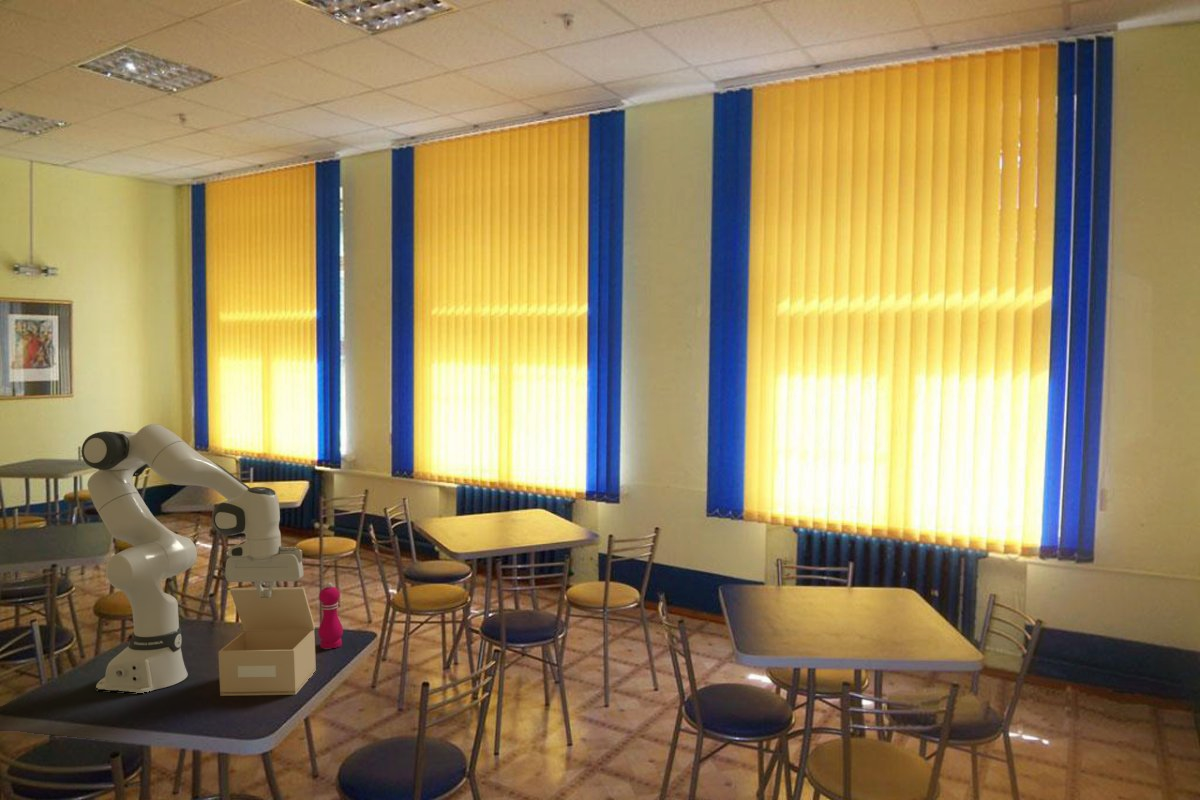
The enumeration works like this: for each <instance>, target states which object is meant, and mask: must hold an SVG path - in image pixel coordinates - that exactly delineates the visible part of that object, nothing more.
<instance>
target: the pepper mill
mask: <svg viewBox="0 0 1200 800" xmlns="http://www.w3.org/2000/svg"><path fill="white" fill-rule="evenodd" d="M340 596H341V595H340V591H339V589H338V588H336V587H335V586H333V584H332V582H330V581H329V582H327V583H326V584H325V587H324V588H323V589H321V590H320V593H319V595H318V597H319V598H318V599H319V602H321V603H320V604H321V607H320V608H321V609H322V612H323V613H322V619H321V622H320V625H319V628H318V638H320V640H321V641H320V648H321V647H322V648H336V647H339V646H340V647H342V645H343V644H342V643H343V641H342V640H343V639H342V638H341V637H342V636H343V634H344V629H343V625H342V622H341V621H340V618H339V615H338V607H339V602H338V600H339V599H340ZM340 647H339V648H340ZM322 648H321V649H322ZM336 649H337V648H336Z"/></svg>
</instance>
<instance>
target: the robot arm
mask: <svg viewBox="0 0 1200 800" xmlns="http://www.w3.org/2000/svg"><path fill="white" fill-rule="evenodd" d="M81 457H82V460H83V461H84V462H85V464H86V465H88V466H89V467H90V468H92V469H96V470H97V471H95V472H94V473H93V474H92V475H91V476H90V477H89V478H88V480H87V484H86V485H87V489H88V493H89V496H90V498H91V500H92V501H91V502H92V504H93V506H94V508H95V510H96V512H97V513H98V515H99V516H100V519H101V520H102V522H103V524H104V526H105V528H106V529H107V530H108V533H109V534H110V535H111V537H113V538H114V539H116V540H117V541H121V542H125V543H127V544H129V545H131V546H132V547H128V548H126V549H124V550H122V551H119V552H117V553H116V554H113V555H112V556H111V557H110V558H109V559H108V561H107V563H106V567H105V576H106V579H107V580H108V582H109V584H111V586H112V587H114V588H115V589H118V590H120V591H121V592H122V593H123V594H124V595H125V596H126V598H127V600H128V602H129V604H130V607H131V611H132V621H133V632H132V633H130V634H129V635H128V636H126V637H125V638H124V644H125V643H127V642H128V645H127V647H125V648H124V649H123V650H122V651H120V652H119V653H118V654H117V655H116V656H114V658H112V659H111V660H110V661H109V662H108V664H107V665H106V669H105V676H104V677H103V678H101V679H100V680H99V681H98V682H97V683H96V686H95V689H96V688H98V689H105V690H119V691H129V692H136V693H135V694H137V693H143V694H145V693H144V692H147V693H149V691H150V692H152V691H154V690H156V691H157V690H159V689H164V688H167V687H172V686H174V685H176V684H179V683H180V682H182V681H184V680H186V678H187V677H188V676H189V674H188V670H187V668H186V665H185V661H184V658H183V653H182V640H183V639H182V627H181V626H180V623H179V617H180V616H179V602H178V600H177V599H176V597H174V595H171V594H169V593H166V592H165V591H164V590H163V586H162V580H167V579H169V578H171V577H175V576H178V575H181V574H182V573H184V572H186V571H188V570H189V569H190V568H192V567H193V566H194V565H195V564H196V561H197V559H198V558H197V557H198V550H197V546H196V544H195V543H194V542H193V540H192V539H191V538H189V537H187V536H183V535H180V534H177V533H176V532H174V531H172V530H170V529H169V528H168V527H166V526H165V525H164V524H162V523H161V522H160V521H159V520H158V519H157V518H156V517H155V516H154V515H153V513H152V512H151V511H150V508H149V507H148V505H146V503H145V501H144V500H143V498H142V496H141V494H140V493H139V491H138V490H137V487H135V484H134V482H133V477H138V476H141V475H142V474H143V472H145V470H146V469H147V468H150V469H151V470H152V471H153V472H154V473H155V474H156V475H158V477H160V478H161V479H163V480H164V481H166V482H167V483H170V484H171V485H176V486H193V487H195V486H196V487H204V488H208V489H211V490H213V491H215V492H217V494H219V495H221V496H222V497H223V498H224V499H226V500H224V501H222V502H220V503H217V504H216V506H215V507H214V508H213V511H212V514H211V520H212V525H213V527H214V529H215V530H216V531H217V532H218V533H219V534H221V535H223V536H234V535H238V534H244V535H245V541H242V542H241V543H238V544H235V545H233V546H231V547H230V548H229V549H228V550H227V556H228V558H227V560H226V562H225V570H224V571H225V572H224V573H225V579H226V580H227V582H228V583H254V584H253V585H254V588H256V589H257V590H258V592H259V598H270V597H272V590H273V588H274V587H276V585H277V582H298V581H300V580H301V579H302V578H303V577H304V566H303V561H302V560H303V550H301V549H300V548H298V547H297V546H282V539H281V538H282V536H281V535H282V534H281V530H280V520H281V517H280V516H281V512H280V511H281V510H280V502H279V496H278V494H277V492H276V491H275V490H274V489H272V488H271V487H270V488H269V487H267V486H253V487H250V486H249V485H247V484H246V483H244V482H243V481H242V480H240V479H239V478H238V477H236V476H235V475H234V474H232V473H231V472H229V470H227V469H225V468H224V467H222V466H221V465H219V464H218V463H216V462H214V461H212V460H211V459H209V458H208V457H205V456H203V454H201V453H199V451H196V449H194V448H193V447H192V446H190V445H189V444H188V443H187V442H186V441H185V440H183V439H182V438H181V437H180V436H179V435H177V434H176V433H174V432H173V431H172V430H170V429H168V428H167V427H165V426H163V425H161V424H157V423H151V424H147V425H144V426H143V427H142V428H140V429H139V430H138V431H137V432H132V431H125V430H122V431H109V430H108V431H106V430H105V431H98V432H95V433H93V434H91V435H89V436H88V437H86V439H85V440H84V441H83V443H82V445H81ZM266 582H267V586H269V587H268V588H269V589H268V590H264V589H263V588H264V587H263V586H262V584H263V583H266Z"/></svg>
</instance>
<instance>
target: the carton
mask: <svg viewBox="0 0 1200 800" xmlns="http://www.w3.org/2000/svg"><path fill="white" fill-rule="evenodd" d="M315 637H316V636H315V630H256V631H244V630H243V631H242V632H240V634H238V635H237V636H235V637H234V638H233V639H232V640H231V641H230V642H228V643H227V644H226V645H225V646H223V647H222V648H221V649H219V651H218V654H217V655H218V673H219V693H220V695H219V696H221V697H224V696H225V697H226V696H227V697H228V696H280V695H281V696H283V695H284V696H287V695H289V696H291V695H292V696H295V695H297V693H299V691H300V690H301V689H302V688H303V686H304V685H306V684H307V682H308V681H309V680H310V679H311V678H312V676H313V675H314V674H315V673H316V672H317V665H316V663H317V662H316V640H315ZM315 671H316V672H315ZM314 672H315V673H314ZM313 673H314V674H313ZM309 678H310V679H309ZM308 679H309V680H308Z"/></svg>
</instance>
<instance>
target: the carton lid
mask: <svg viewBox="0 0 1200 800" xmlns="http://www.w3.org/2000/svg"><path fill="white" fill-rule="evenodd" d="M263 589H264V590H268V589H269V587H263ZM229 592H230V594H231V597H232V600H233V604H234V606H235V609H236V611H237V614H238V617H239V620H240V623H241V626H242V629H243V631H275V630H314V631H315V629H316V624H315V621H314V618H313V615H312V612H311V611H312V610H311V608H310V604H309V600H308V597H307V592H306V590H305V587H304V586H295V587H293V586H292V587H291V586H290V587H289V586H288V587H286V586H285V587H284V586H283V587H282V586H281V587H276V586H274V588H273V590H272V597H270V598H259V592H258V590H257V589H256V587H231V588H229Z"/></svg>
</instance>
